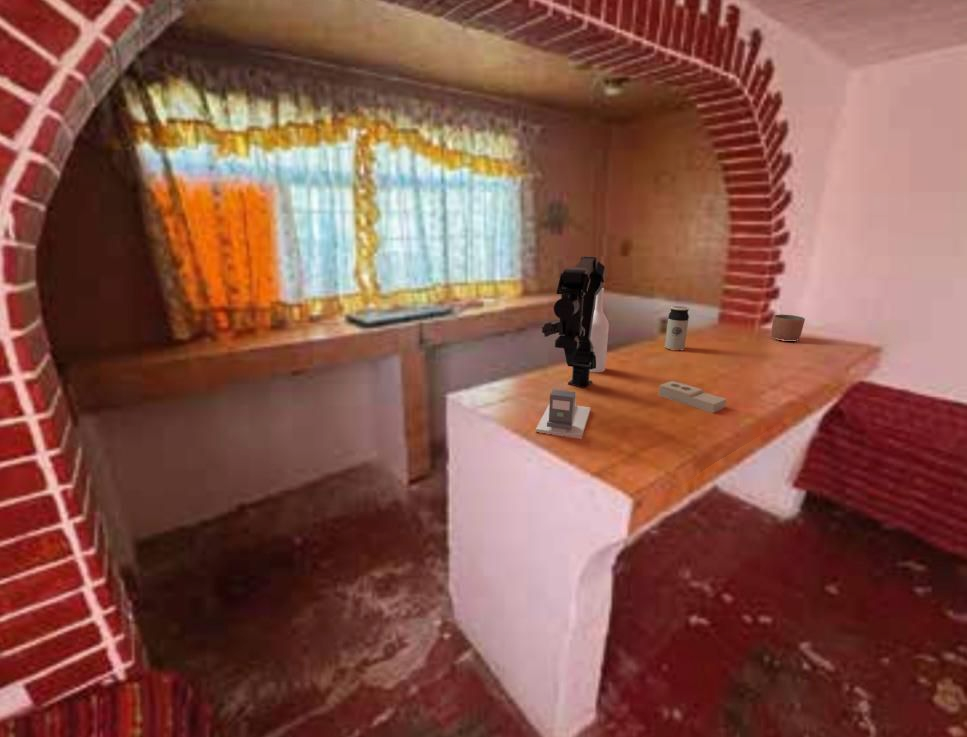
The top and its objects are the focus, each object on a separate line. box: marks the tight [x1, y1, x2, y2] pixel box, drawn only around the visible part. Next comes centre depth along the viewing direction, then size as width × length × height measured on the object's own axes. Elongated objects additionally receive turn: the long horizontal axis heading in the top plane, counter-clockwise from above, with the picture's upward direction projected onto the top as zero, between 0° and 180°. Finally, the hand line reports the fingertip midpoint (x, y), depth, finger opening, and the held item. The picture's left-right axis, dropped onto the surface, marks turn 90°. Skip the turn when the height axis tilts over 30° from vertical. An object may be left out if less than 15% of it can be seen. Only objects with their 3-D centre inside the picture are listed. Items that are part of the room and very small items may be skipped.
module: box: [549, 389, 577, 425], centre depth 128 cm, size 5×6×8 cm
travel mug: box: [664, 305, 690, 351], centre depth 207 cm, size 8×8×18 cm
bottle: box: [590, 287, 610, 374], centre depth 176 cm, size 8×8×30 cm
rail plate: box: [535, 402, 591, 440], centre depth 135 cm, size 20×12×3 cm, turn 162°
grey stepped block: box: [658, 380, 727, 414], centre depth 150 cm, size 7×4×18 cm
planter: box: [771, 314, 806, 341], centre depth 224 cm, size 12×12×11 cm
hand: (568, 364), depth 146 cm, fingers closed
